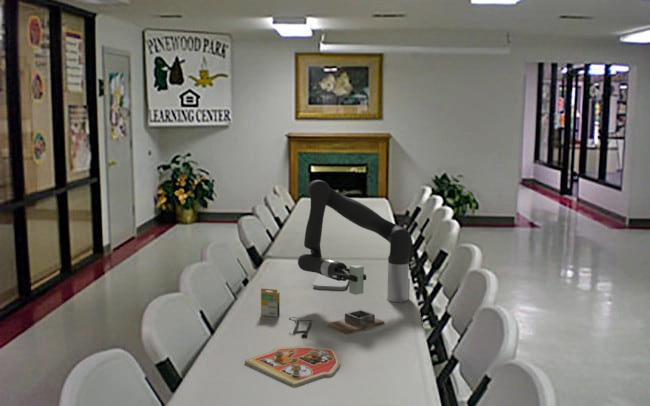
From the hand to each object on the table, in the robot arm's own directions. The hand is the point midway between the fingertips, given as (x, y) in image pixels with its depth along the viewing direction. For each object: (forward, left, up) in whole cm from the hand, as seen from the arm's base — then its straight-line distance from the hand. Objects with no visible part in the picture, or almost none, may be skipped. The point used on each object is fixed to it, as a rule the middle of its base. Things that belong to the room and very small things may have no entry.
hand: (361, 278), depth 263 cm
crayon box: (+22, -32, -19) cm, 43 cm away
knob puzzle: (+43, +17, -20) cm, 50 cm away
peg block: (0, -3, -6) cm, 7 cm away
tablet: (-31, -55, -19) cm, 66 cm away
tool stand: (+2, -1, -19) cm, 19 cm away
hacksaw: (+22, -13, -19) cm, 32 cm away
